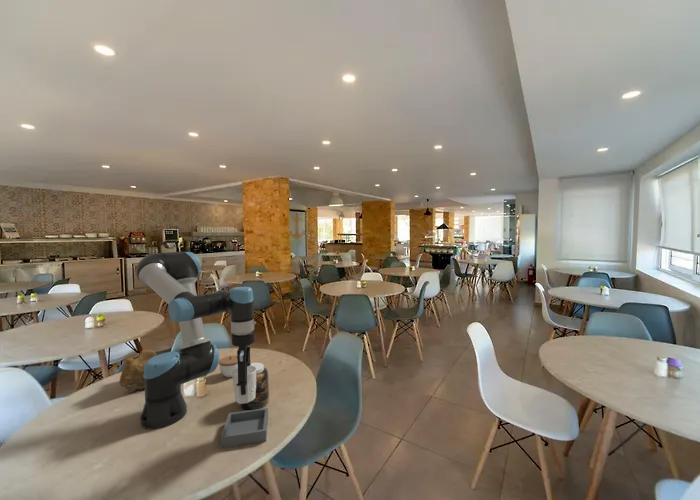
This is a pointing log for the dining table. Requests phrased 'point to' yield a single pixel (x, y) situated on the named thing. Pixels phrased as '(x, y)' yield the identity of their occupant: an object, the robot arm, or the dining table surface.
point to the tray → (245, 428)
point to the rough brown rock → (135, 371)
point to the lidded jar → (228, 365)
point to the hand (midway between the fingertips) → (245, 396)
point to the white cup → (250, 380)
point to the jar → (259, 389)
